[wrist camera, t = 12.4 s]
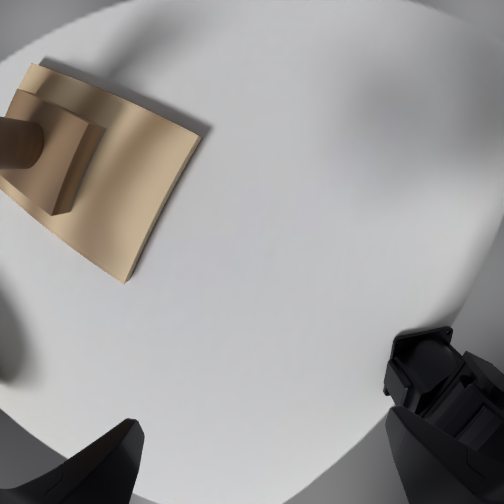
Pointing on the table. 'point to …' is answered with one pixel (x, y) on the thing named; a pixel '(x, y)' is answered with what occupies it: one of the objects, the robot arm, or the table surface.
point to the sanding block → (46, 150)
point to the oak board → (112, 173)
